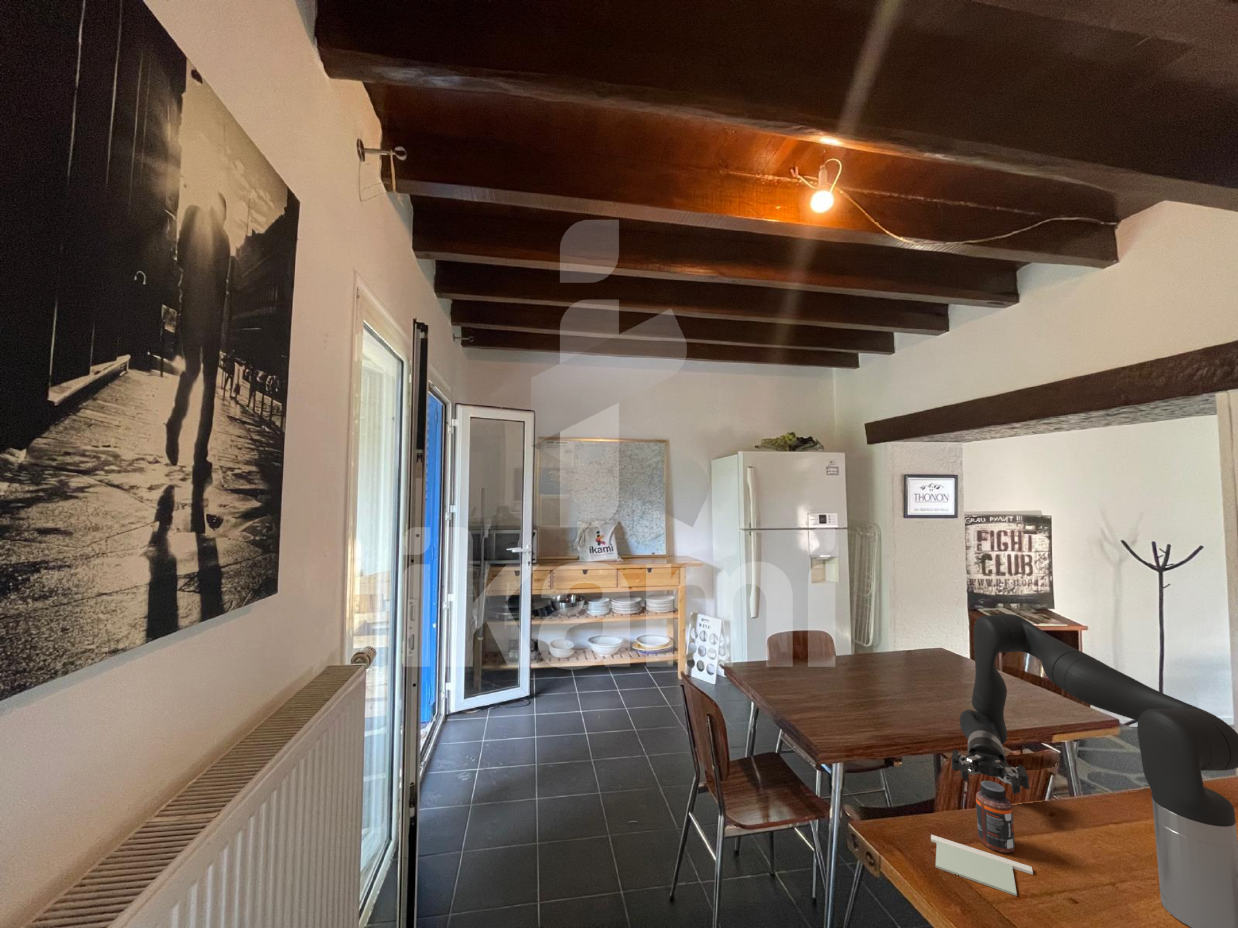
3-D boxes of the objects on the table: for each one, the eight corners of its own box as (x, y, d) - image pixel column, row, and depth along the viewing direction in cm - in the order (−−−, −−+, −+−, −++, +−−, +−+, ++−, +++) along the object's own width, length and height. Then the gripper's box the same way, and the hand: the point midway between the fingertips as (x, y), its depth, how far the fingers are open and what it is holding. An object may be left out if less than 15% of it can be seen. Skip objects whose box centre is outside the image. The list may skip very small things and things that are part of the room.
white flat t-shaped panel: (1031, 869, 92) (1031, 866, 92) (1039, 903, 84) (1039, 900, 84) (931, 836, 101) (931, 834, 101) (929, 865, 93) (929, 862, 93)
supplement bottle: (1022, 856, 95) (1018, 795, 96) (987, 852, 96) (984, 792, 97) (1004, 836, 101) (1001, 779, 102) (972, 832, 102) (969, 776, 103)
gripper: (951, 729, 126) (950, 756, 113) (1022, 744, 118) (1030, 775, 105) (952, 759, 125) (952, 790, 112) (1024, 776, 117) (1033, 812, 104)
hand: (990, 783), depth 108 cm, fingers open, 8 cm apart
